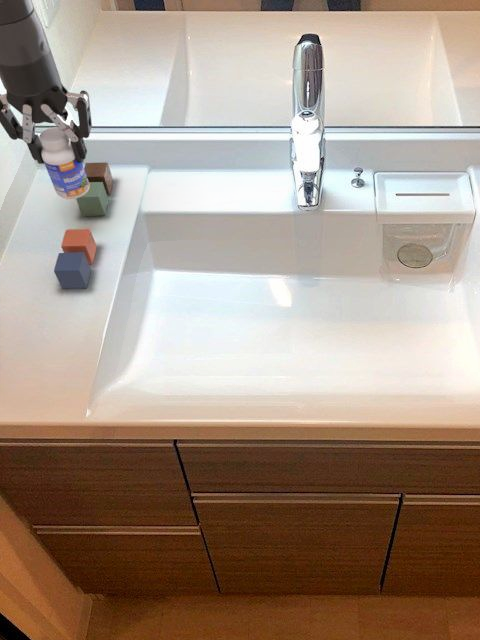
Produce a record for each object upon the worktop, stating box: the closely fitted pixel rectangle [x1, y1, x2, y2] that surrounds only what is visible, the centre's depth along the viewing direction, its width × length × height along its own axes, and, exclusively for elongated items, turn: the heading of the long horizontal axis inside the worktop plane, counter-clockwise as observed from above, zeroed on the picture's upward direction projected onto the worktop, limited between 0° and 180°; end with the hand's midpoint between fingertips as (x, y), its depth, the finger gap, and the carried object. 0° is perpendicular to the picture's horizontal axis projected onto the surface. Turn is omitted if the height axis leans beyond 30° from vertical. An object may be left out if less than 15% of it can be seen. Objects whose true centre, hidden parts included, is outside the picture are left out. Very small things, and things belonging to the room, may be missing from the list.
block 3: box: [60, 228, 98, 265], centre depth 104 cm, size 4×4×4 cm
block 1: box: [83, 161, 114, 196], centre depth 114 cm, size 4×4×4 cm
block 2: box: [75, 182, 109, 217], centre depth 110 cm, size 4×4×4 cm
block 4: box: [53, 252, 92, 290], centre depth 101 cm, size 4×4×4 cm
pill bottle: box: [38, 126, 90, 200], centre depth 98 cm, size 5×5×10 cm
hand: (61, 159), depth 97 cm, fingers closed on pill bottle, 5 cm apart
